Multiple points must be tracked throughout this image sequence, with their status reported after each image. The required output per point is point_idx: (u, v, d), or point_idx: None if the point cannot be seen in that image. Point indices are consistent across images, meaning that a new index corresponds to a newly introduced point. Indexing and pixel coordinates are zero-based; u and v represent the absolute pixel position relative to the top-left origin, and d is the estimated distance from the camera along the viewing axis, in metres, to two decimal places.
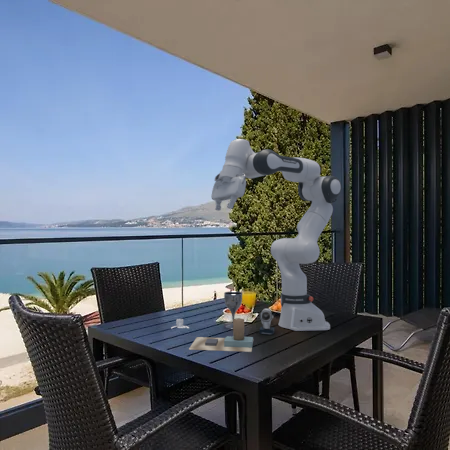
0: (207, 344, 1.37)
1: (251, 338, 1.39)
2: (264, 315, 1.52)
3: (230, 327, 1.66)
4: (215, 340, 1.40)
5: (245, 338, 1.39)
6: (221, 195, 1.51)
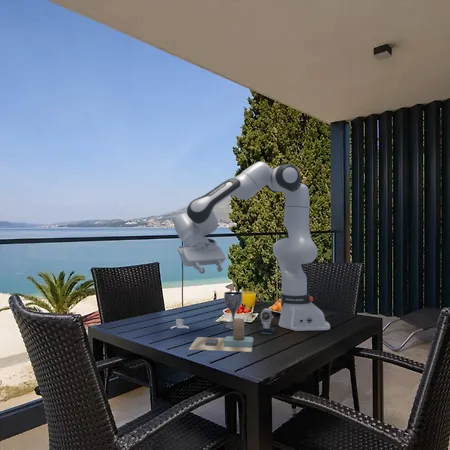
0: (207, 344, 1.37)
1: (251, 338, 1.39)
2: (264, 315, 1.52)
3: (230, 327, 1.66)
4: (215, 340, 1.40)
5: (245, 338, 1.39)
6: None
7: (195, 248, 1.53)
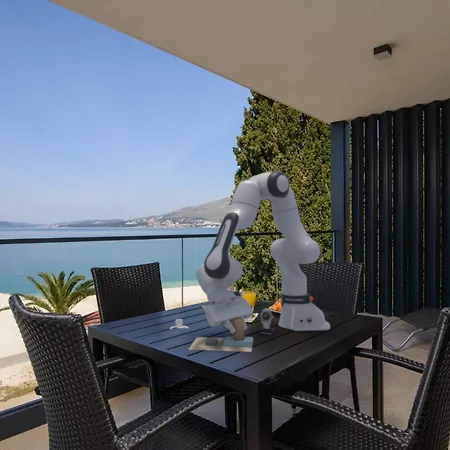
0: (207, 344, 1.37)
1: (251, 338, 1.39)
2: (264, 315, 1.52)
3: None
4: (215, 340, 1.40)
5: (245, 338, 1.39)
6: None
7: (221, 304, 1.40)
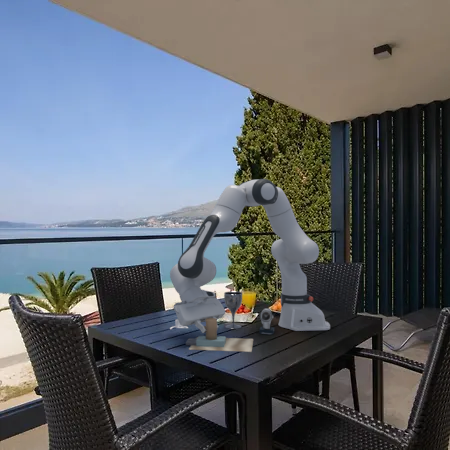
0: (188, 344, 1.38)
1: (224, 337, 1.40)
2: (264, 315, 1.52)
3: (230, 327, 1.66)
4: None
5: (218, 338, 1.40)
6: None
7: (192, 304, 1.42)
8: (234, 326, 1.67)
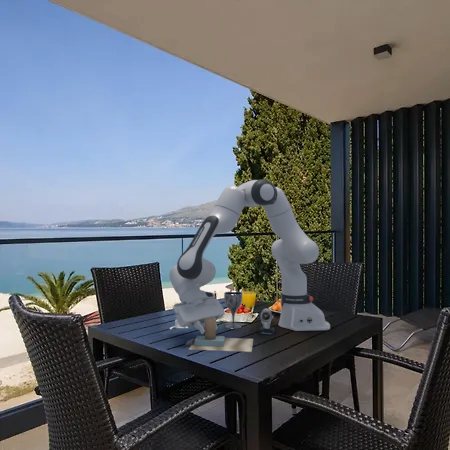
0: None
1: (223, 337, 1.40)
2: (264, 315, 1.52)
3: (230, 327, 1.66)
4: (191, 340, 1.41)
5: (217, 337, 1.40)
6: None
7: (192, 305, 1.42)
8: (234, 326, 1.67)
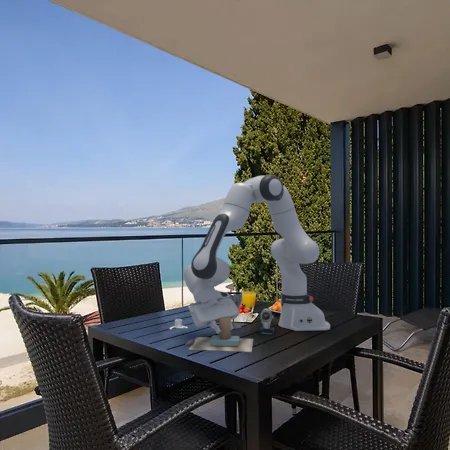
0: None
1: (237, 337, 1.39)
2: (264, 315, 1.52)
3: None
4: (191, 340, 1.41)
5: (231, 337, 1.39)
6: None
7: (207, 305, 1.41)
8: (234, 326, 1.67)
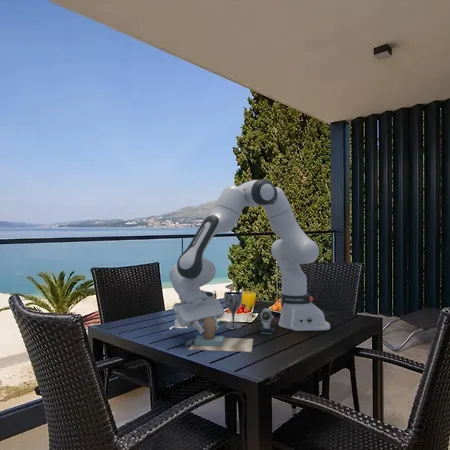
0: None
1: (222, 337, 1.40)
2: (264, 315, 1.52)
3: (230, 327, 1.66)
4: (191, 340, 1.41)
5: (216, 337, 1.40)
6: None
7: (192, 305, 1.42)
8: (234, 326, 1.67)
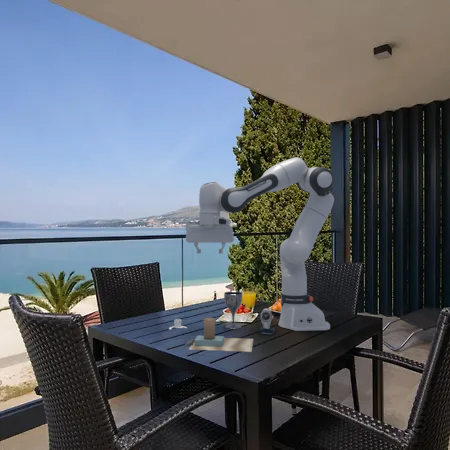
0: None
1: (222, 337, 1.40)
2: (264, 315, 1.52)
3: (230, 327, 1.66)
4: (191, 340, 1.41)
5: (216, 337, 1.40)
6: None
7: (201, 227, 1.60)
8: (234, 326, 1.67)
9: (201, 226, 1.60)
